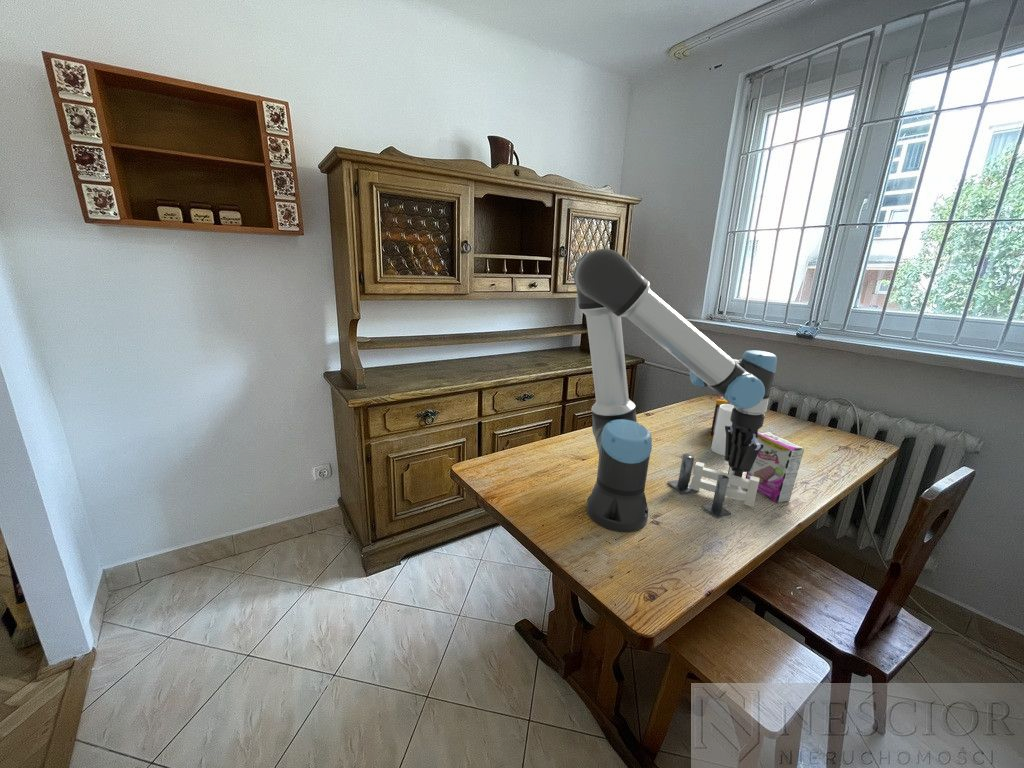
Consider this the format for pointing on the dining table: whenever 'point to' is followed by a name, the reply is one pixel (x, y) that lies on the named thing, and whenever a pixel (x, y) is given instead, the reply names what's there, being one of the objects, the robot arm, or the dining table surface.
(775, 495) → the candy bar box
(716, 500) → the post
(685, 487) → the post
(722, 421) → the cup
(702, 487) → the gate
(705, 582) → the dining table surface
